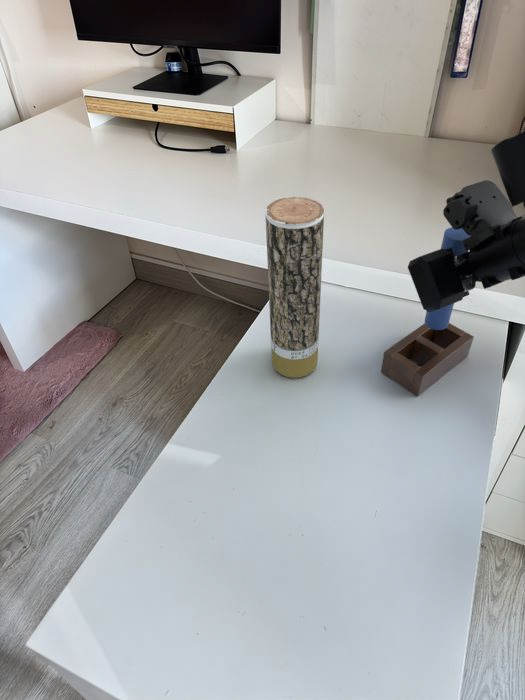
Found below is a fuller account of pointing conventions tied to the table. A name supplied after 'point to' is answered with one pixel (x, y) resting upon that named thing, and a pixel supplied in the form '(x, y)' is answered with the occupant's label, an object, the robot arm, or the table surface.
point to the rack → (425, 356)
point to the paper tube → (294, 282)
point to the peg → (454, 240)
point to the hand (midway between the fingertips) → (439, 278)
